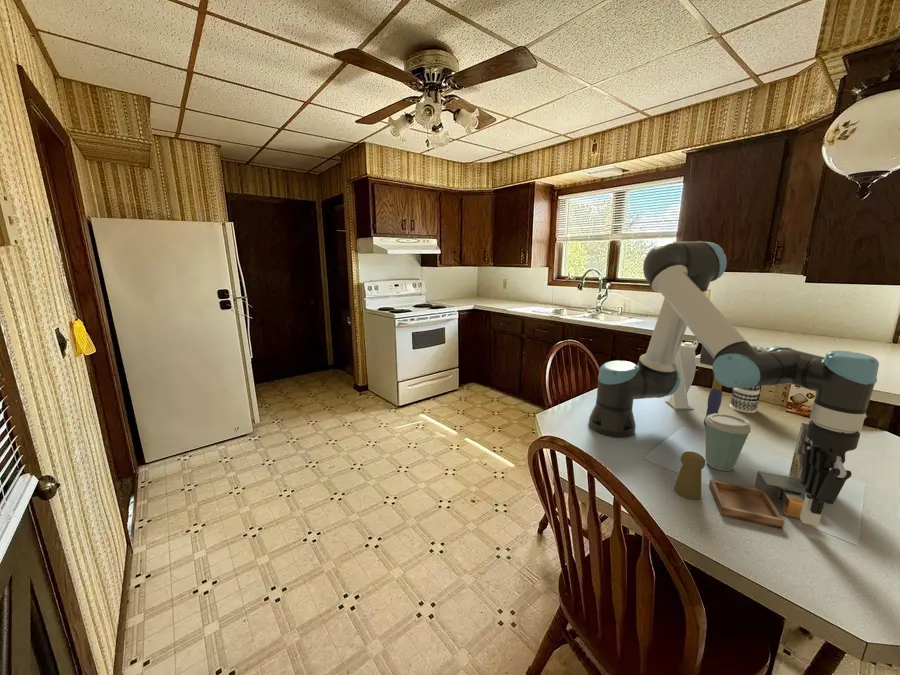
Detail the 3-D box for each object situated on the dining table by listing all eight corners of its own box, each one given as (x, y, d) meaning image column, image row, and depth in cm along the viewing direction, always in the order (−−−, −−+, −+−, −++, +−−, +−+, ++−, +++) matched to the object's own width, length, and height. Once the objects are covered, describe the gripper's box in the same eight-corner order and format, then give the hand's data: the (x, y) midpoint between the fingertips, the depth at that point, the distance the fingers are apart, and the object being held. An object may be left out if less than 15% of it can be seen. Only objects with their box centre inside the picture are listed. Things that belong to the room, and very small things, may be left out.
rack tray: (720, 515, 87) (722, 507, 87) (708, 486, 98) (710, 479, 97) (782, 529, 83) (784, 521, 82) (762, 497, 93) (764, 490, 93)
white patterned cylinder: (735, 412, 142) (748, 349, 136) (723, 402, 150) (735, 343, 144) (762, 414, 140) (776, 351, 134) (749, 404, 148) (761, 344, 143)
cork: (668, 485, 98) (674, 448, 96) (689, 484, 99) (696, 447, 96) (684, 500, 92) (691, 461, 90) (707, 499, 93) (714, 460, 90)
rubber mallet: (731, 428, 129) (747, 346, 122) (731, 437, 123) (749, 351, 116) (689, 419, 136) (702, 340, 129) (687, 426, 130) (701, 345, 123)
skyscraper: (695, 411, 142) (707, 341, 136) (674, 411, 143) (685, 341, 136) (682, 402, 151) (693, 336, 144) (662, 402, 151) (672, 336, 144)
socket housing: (763, 499, 93) (766, 484, 92) (754, 485, 98) (758, 470, 97) (813, 510, 89) (817, 493, 88) (801, 495, 94) (805, 479, 93)
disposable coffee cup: (691, 463, 108) (699, 416, 105) (705, 451, 115) (713, 406, 111) (734, 480, 100) (745, 430, 97) (747, 466, 107) (757, 419, 103)
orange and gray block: (786, 515, 87) (789, 500, 86) (767, 486, 97) (770, 473, 96) (810, 520, 85) (814, 505, 84) (788, 490, 96) (791, 477, 95)
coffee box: (830, 500, 92) (846, 442, 88) (795, 492, 96) (810, 435, 92) (819, 481, 100) (834, 427, 96) (787, 474, 103) (800, 421, 99)
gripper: (879, 443, 69) (848, 548, 75) (840, 415, 81) (815, 507, 87) (828, 436, 72) (801, 537, 78) (796, 410, 84) (775, 499, 89)
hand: (808, 521), depth 82 cm, fingers closed
